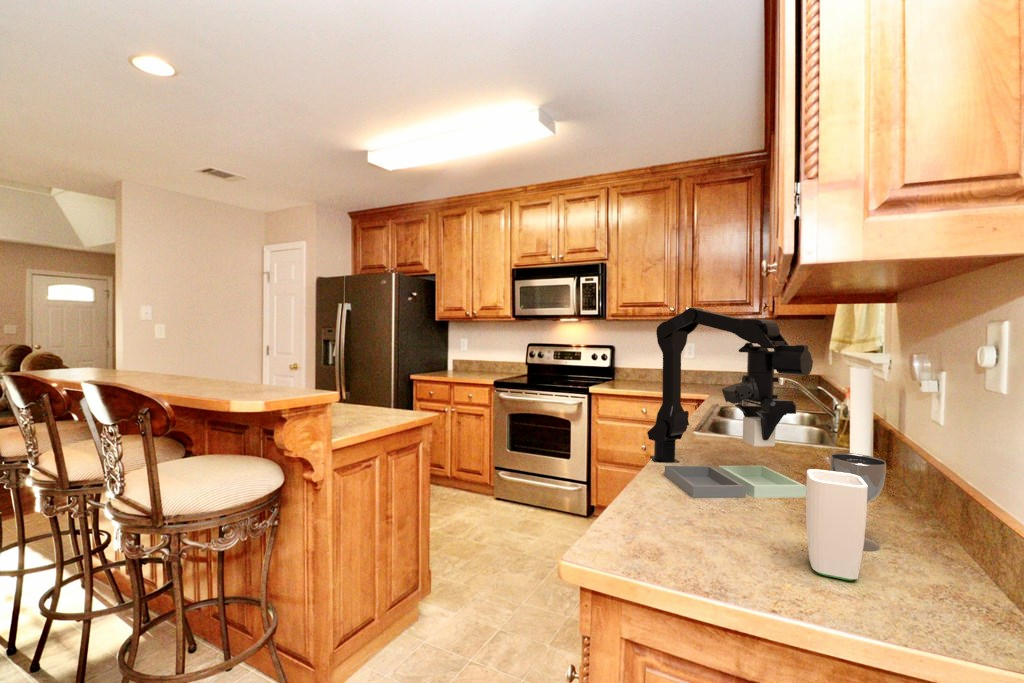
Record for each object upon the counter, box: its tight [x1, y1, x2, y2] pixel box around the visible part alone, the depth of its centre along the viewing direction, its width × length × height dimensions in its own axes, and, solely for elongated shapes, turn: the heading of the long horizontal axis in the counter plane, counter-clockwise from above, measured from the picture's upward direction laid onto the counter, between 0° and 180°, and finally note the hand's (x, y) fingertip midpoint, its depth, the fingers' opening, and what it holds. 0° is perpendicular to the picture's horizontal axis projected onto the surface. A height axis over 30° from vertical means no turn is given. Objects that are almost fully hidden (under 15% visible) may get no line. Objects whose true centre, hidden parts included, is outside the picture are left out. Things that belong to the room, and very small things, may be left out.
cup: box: [805, 468, 868, 581], centre depth 74 cm, size 7×7×15 cm
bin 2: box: [717, 464, 806, 499], centre depth 114 cm, size 16×12×3 cm
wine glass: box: [830, 452, 887, 552], centre depth 85 cm, size 8×8×15 cm
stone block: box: [742, 416, 776, 447], centre depth 113 cm, size 5×5×6 cm
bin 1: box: [664, 465, 747, 499], centre depth 113 cm, size 16×12×3 cm
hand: (758, 437), depth 113 cm, fingers closed on stone block, 5 cm apart
